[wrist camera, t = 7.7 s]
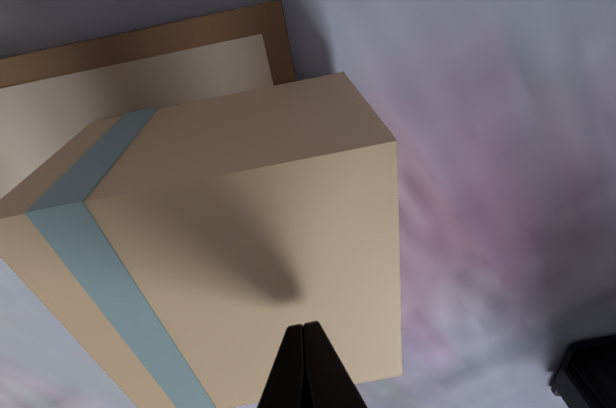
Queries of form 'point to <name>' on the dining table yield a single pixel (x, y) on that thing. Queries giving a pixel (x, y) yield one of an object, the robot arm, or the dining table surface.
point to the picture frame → (133, 78)
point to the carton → (218, 240)
